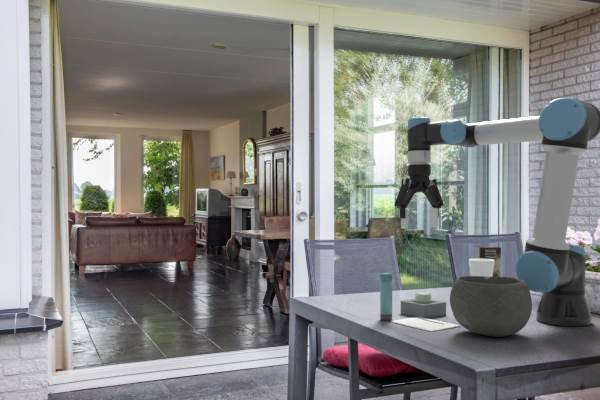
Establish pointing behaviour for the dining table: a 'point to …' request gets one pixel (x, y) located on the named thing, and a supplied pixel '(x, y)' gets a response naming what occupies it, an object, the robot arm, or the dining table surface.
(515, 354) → the dining table surface
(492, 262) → the foam cup
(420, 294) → the button
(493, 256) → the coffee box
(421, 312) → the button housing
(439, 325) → the paper
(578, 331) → the dining table surface
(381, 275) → the marker
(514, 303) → the bowl
